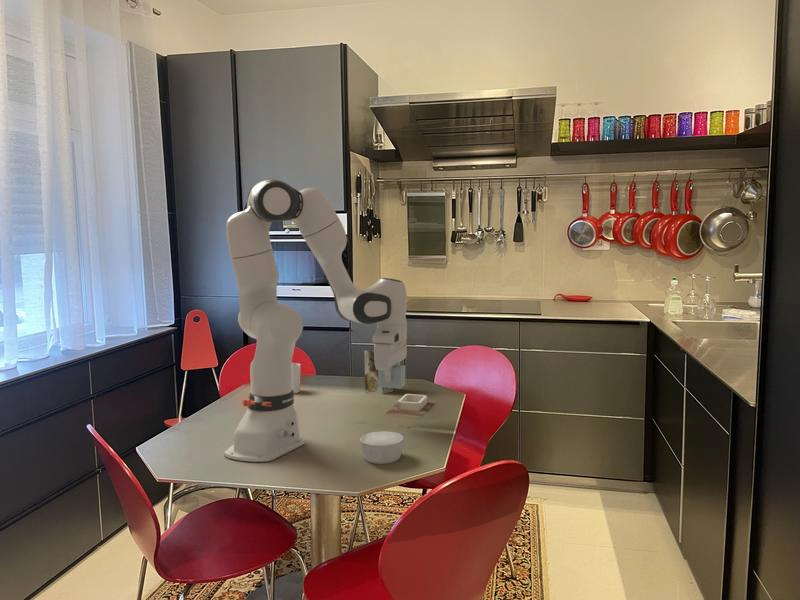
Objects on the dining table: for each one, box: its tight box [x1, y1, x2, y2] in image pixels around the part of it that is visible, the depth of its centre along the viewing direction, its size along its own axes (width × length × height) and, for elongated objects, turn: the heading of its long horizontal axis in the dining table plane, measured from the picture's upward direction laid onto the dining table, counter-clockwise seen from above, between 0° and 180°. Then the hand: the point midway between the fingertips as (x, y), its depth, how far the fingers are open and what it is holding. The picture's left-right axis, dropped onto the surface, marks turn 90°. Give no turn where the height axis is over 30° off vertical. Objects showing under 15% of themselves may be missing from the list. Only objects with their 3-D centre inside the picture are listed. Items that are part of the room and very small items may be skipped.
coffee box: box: [363, 347, 395, 395], centre depth 214 cm, size 9×6×16 cm
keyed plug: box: [378, 364, 406, 390], centre depth 176 cm, size 4×7×6 cm, turn 73°
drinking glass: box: [291, 362, 301, 394], centre depth 218 cm, size 7×7×10 cm
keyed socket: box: [396, 393, 429, 411], centre depth 195 cm, size 10×8×2 cm
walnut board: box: [383, 399, 437, 419], centre depth 193 cm, size 20×12×1 cm, turn 163°
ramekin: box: [359, 430, 405, 465], centre depth 152 cm, size 11×11×5 cm
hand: (391, 379), depth 176 cm, fingers closed on keyed plug, 4 cm apart
